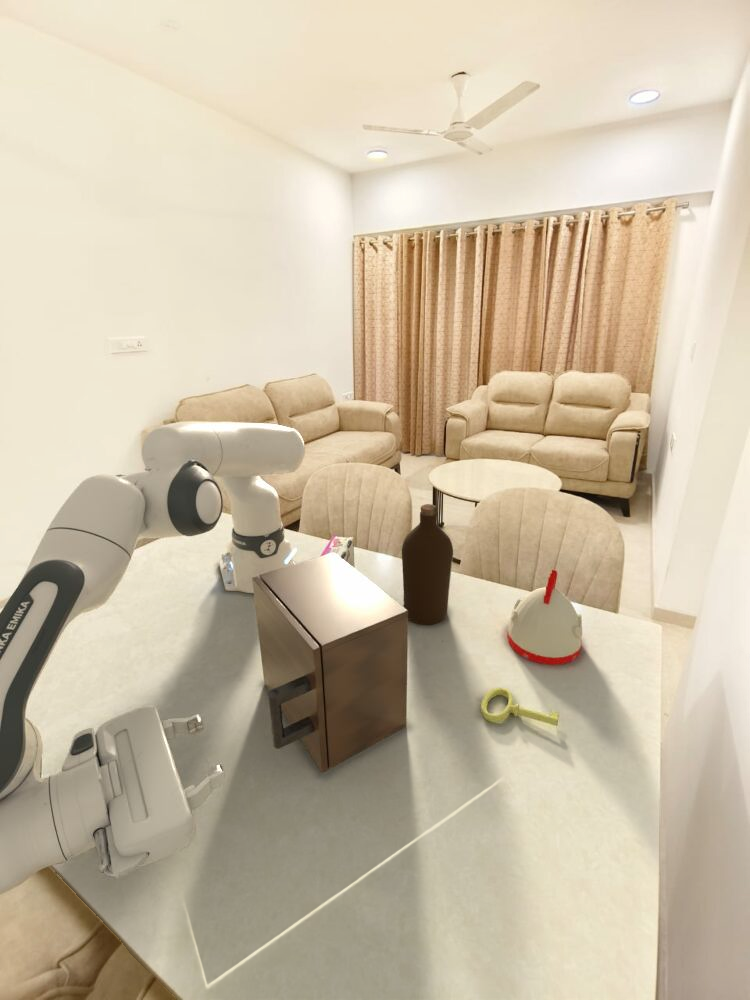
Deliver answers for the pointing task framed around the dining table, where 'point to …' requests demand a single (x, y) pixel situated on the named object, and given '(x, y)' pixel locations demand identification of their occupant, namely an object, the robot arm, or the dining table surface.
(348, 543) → the candy bar box
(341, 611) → the cupboard
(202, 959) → the dining table surface
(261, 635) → the door
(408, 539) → the olive oil
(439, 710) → the dining table surface
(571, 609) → the kitchen timer
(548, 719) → the key
